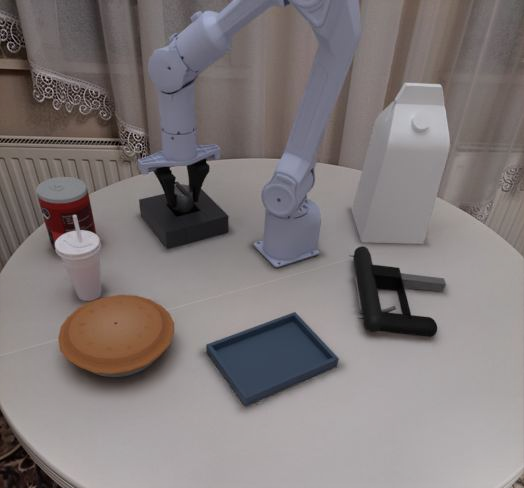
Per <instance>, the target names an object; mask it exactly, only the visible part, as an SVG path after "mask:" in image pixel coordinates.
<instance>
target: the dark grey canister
mask: <svg viewBox="0 0 524 488" xmlns="http://www.w3.org/2000/svg"><path fill="white" fill-rule="evenodd" d="M174 192H175V202H176V205H175V208H172V212H173V213H174V215H175V216H176V217H178V216H182V215H186V214H190V213H194V197H193V188H192V187H191V186H189V184H183V183H182V184H181V183H180V182H179V181H178V180H177V181H175V190H174Z"/></svg>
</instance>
